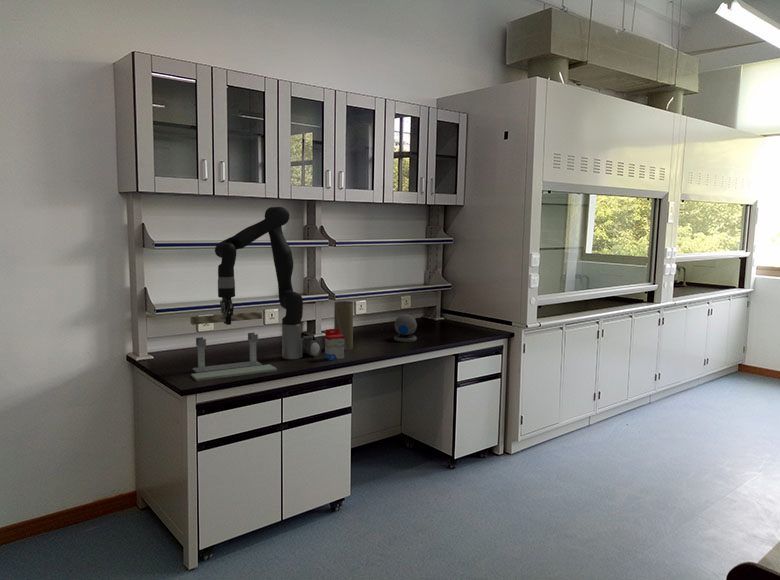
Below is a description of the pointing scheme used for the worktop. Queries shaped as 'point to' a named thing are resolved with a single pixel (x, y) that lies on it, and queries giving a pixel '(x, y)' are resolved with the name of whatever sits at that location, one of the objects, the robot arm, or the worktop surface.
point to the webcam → (405, 328)
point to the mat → (233, 372)
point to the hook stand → (201, 364)
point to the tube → (344, 321)
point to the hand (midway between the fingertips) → (227, 323)
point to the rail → (223, 318)
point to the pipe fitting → (310, 346)
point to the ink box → (334, 345)
